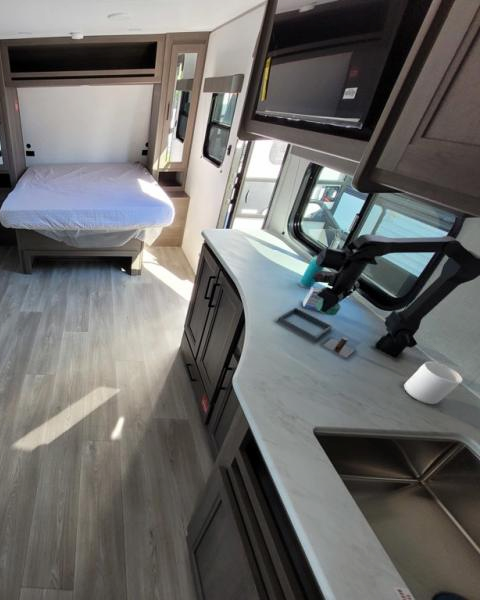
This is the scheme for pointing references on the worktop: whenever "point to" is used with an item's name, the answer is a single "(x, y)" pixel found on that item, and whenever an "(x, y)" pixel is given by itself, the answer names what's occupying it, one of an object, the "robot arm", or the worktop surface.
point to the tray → (301, 331)
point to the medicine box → (312, 298)
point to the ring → (330, 311)
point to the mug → (432, 382)
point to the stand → (339, 346)
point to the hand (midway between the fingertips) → (326, 308)
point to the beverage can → (310, 274)
